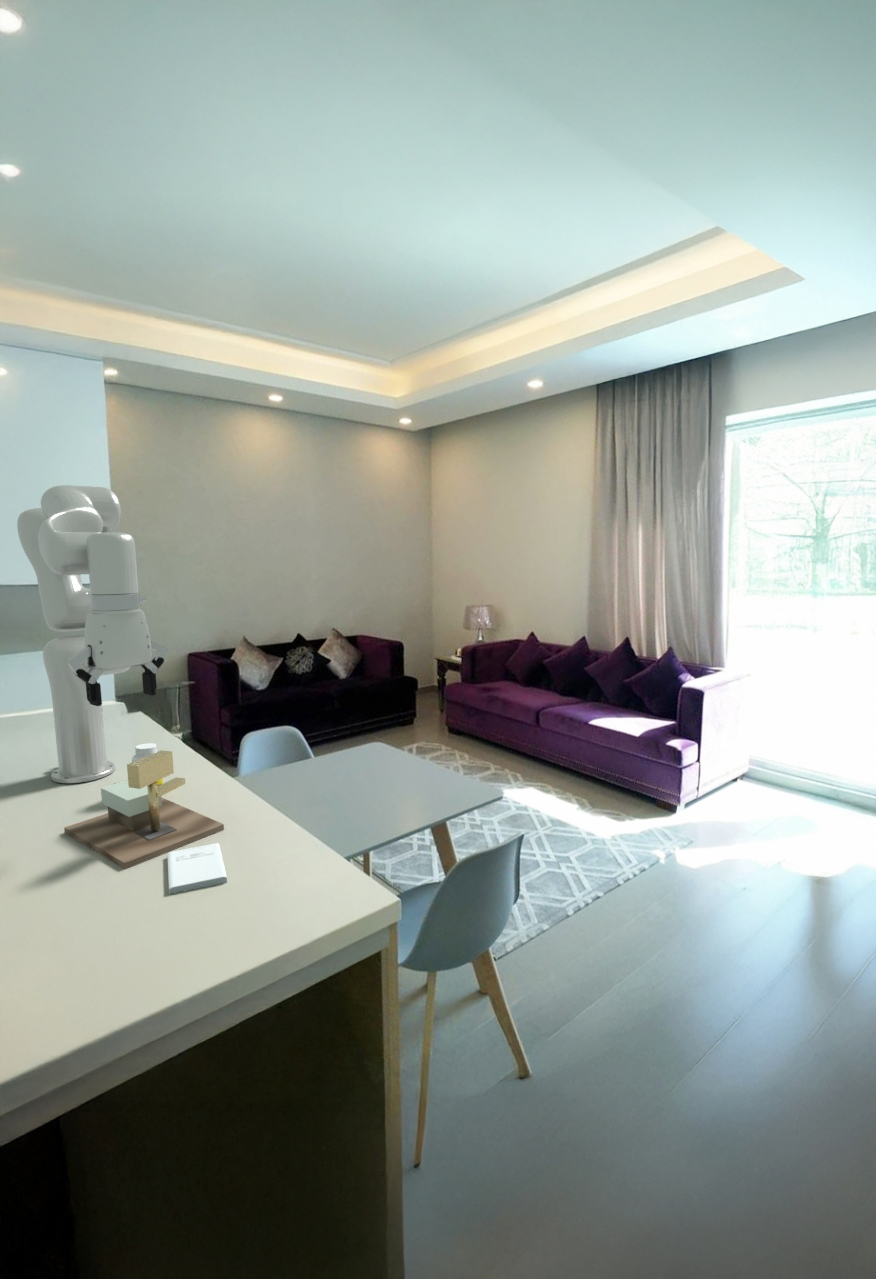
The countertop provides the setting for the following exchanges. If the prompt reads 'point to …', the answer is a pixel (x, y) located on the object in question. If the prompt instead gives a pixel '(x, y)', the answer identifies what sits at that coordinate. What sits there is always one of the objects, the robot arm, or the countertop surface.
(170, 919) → the countertop surface
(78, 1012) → the countertop surface
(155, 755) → the key
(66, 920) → the countertop surface
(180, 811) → the base
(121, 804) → the mint green block
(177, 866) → the external hard drive
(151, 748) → the supplement bottle
